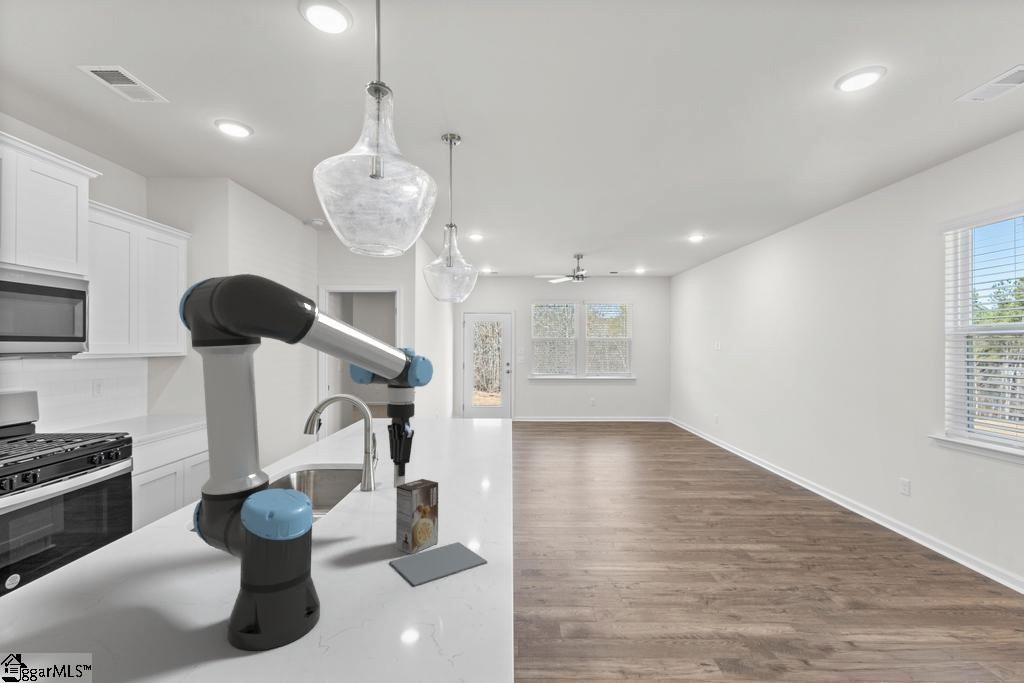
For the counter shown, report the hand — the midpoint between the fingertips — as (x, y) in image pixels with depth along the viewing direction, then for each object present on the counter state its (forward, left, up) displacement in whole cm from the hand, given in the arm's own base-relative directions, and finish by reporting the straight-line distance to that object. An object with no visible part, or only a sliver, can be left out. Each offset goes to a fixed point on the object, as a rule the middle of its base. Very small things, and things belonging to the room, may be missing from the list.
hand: (399, 486), depth 129 cm
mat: (0, -23, -12) cm, 26 cm away
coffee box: (0, -12, -13) cm, 17 cm away
